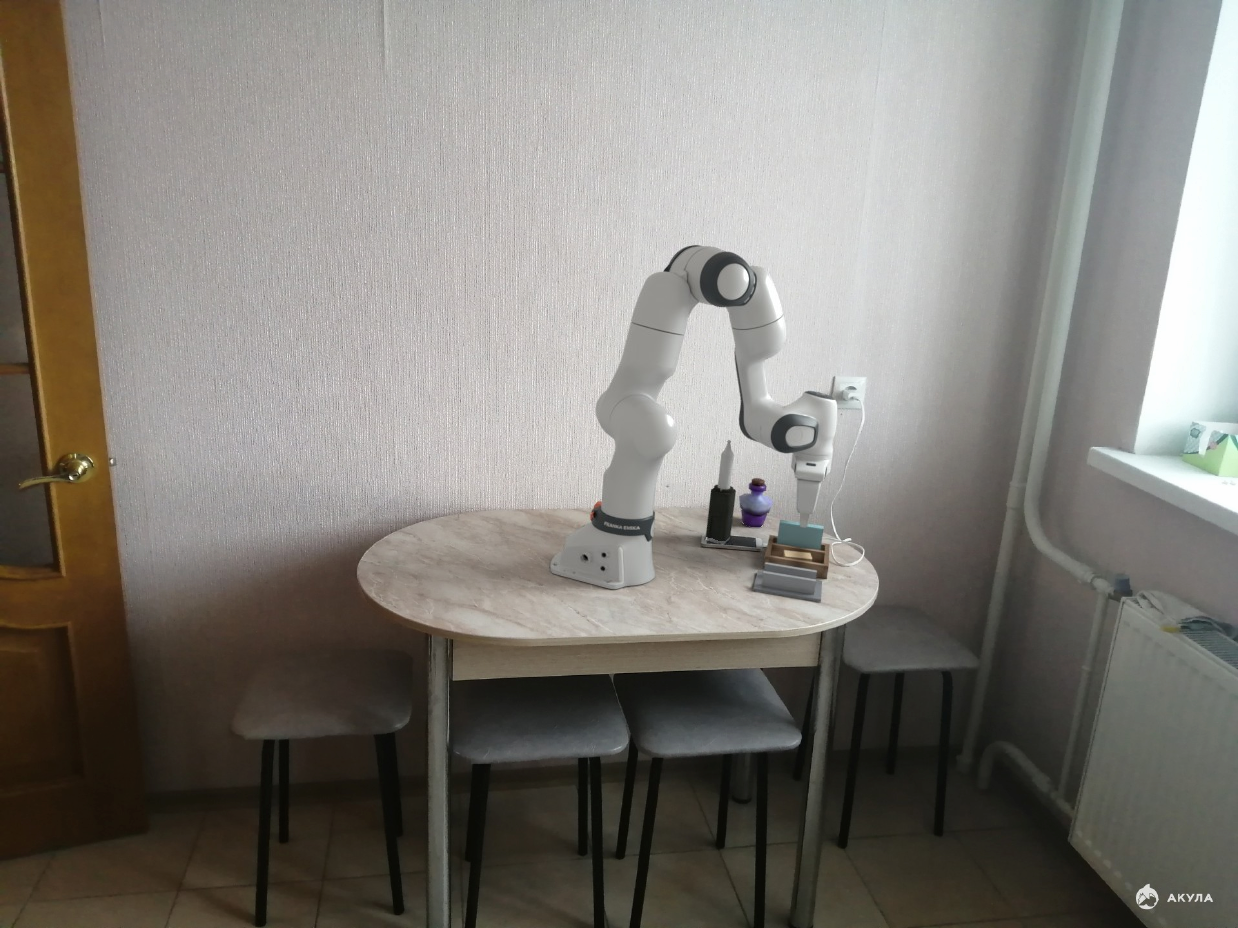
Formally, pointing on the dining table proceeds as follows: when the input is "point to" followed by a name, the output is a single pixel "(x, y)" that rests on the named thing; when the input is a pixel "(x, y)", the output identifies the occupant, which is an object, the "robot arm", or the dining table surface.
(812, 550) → the rack
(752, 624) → the dining table surface
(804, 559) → the upper offcut
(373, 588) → the dining table surface
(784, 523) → the teal flat block
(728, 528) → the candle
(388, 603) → the dining table surface
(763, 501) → the potion bottle
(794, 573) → the slate stand
